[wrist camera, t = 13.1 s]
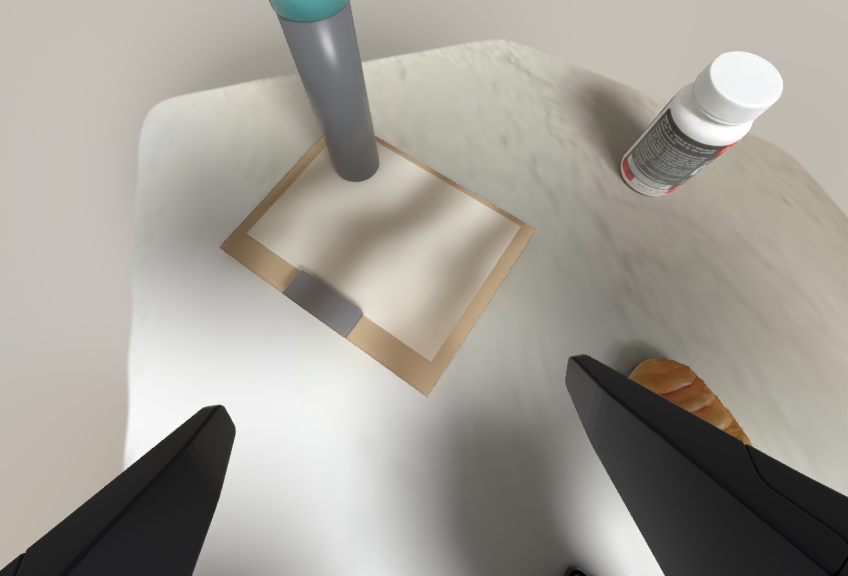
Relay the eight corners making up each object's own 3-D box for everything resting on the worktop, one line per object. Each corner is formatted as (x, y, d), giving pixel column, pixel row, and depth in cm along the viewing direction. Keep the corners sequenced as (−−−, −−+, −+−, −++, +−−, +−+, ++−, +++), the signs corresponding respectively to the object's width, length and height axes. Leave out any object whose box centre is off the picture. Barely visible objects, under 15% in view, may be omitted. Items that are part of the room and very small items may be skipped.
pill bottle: (672, 206, 25) (787, 124, 17) (612, 185, 26) (696, 96, 18) (684, 158, 27) (797, 61, 19) (626, 139, 27) (711, 36, 19)
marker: (389, 157, 25) (355, -91, 13) (362, 190, 24) (294, -43, 12) (352, 137, 26) (283, -118, 13) (323, 169, 25) (219, -75, 12)
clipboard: (532, 234, 25) (540, 223, 23) (427, 396, 21) (427, 397, 20) (343, 123, 28) (337, 106, 26) (225, 251, 24) (210, 241, 23)
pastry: (591, 370, 22) (625, 368, 18) (684, 349, 23) (735, 342, 19) (646, 529, 20) (698, 563, 16) (750, 502, 20) (823, 528, 16)
